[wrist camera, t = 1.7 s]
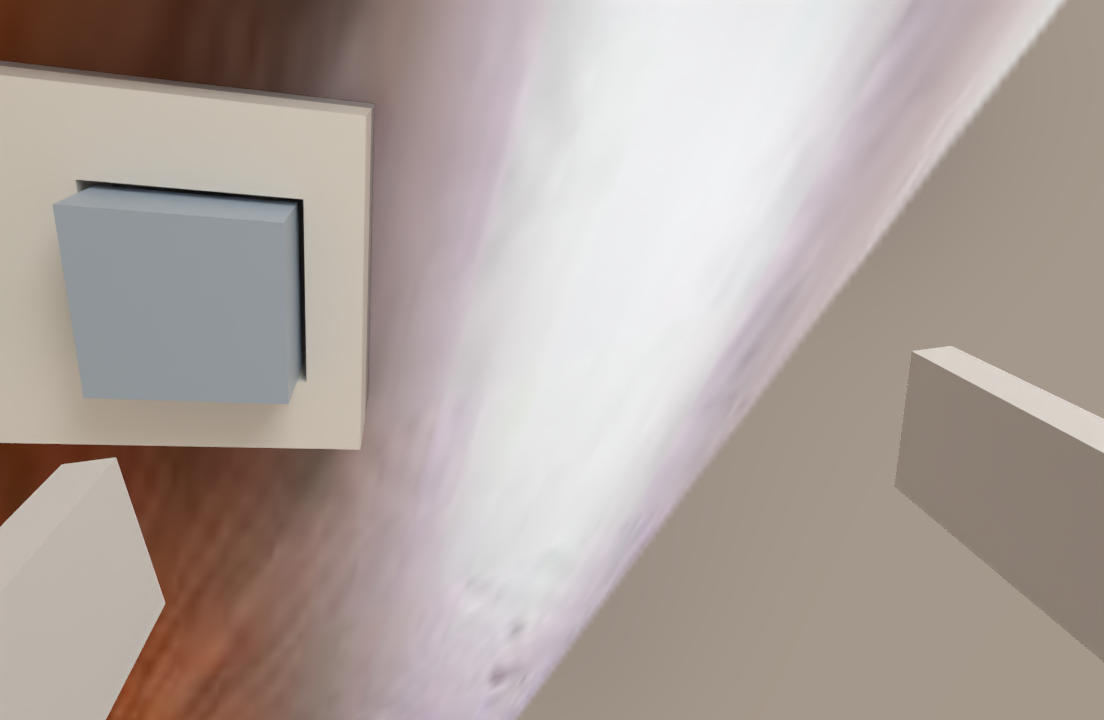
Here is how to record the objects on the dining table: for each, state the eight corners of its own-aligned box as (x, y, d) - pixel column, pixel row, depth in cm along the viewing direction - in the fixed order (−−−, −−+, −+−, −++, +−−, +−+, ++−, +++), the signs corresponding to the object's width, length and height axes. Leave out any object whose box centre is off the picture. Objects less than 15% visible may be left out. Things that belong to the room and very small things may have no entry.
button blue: (94, 185, 25) (52, 204, 22) (298, 202, 27) (283, 222, 24) (118, 360, 28) (83, 398, 25) (301, 368, 29) (288, 404, 27)
